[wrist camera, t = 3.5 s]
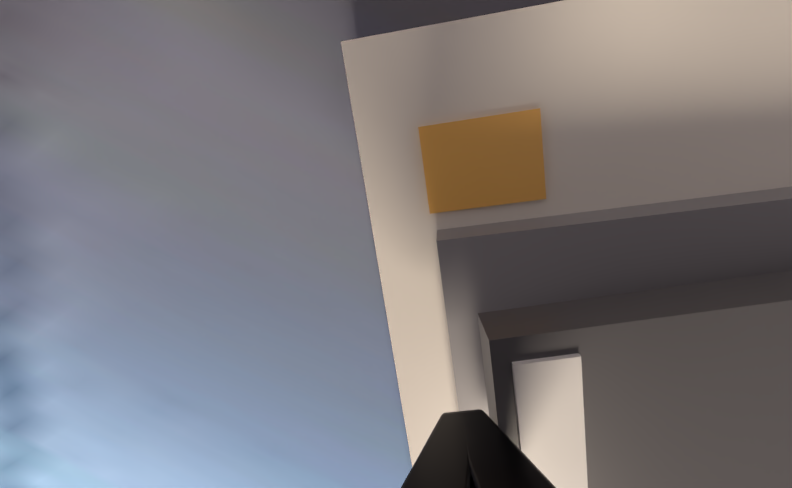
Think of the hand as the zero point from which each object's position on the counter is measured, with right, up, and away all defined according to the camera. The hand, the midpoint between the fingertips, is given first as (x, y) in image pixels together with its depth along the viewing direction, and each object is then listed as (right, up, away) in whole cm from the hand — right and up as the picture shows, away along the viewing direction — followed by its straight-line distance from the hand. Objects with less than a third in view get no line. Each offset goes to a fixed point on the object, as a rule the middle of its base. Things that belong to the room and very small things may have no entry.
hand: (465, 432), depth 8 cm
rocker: (+4, +1, 0) cm, 5 cm away
